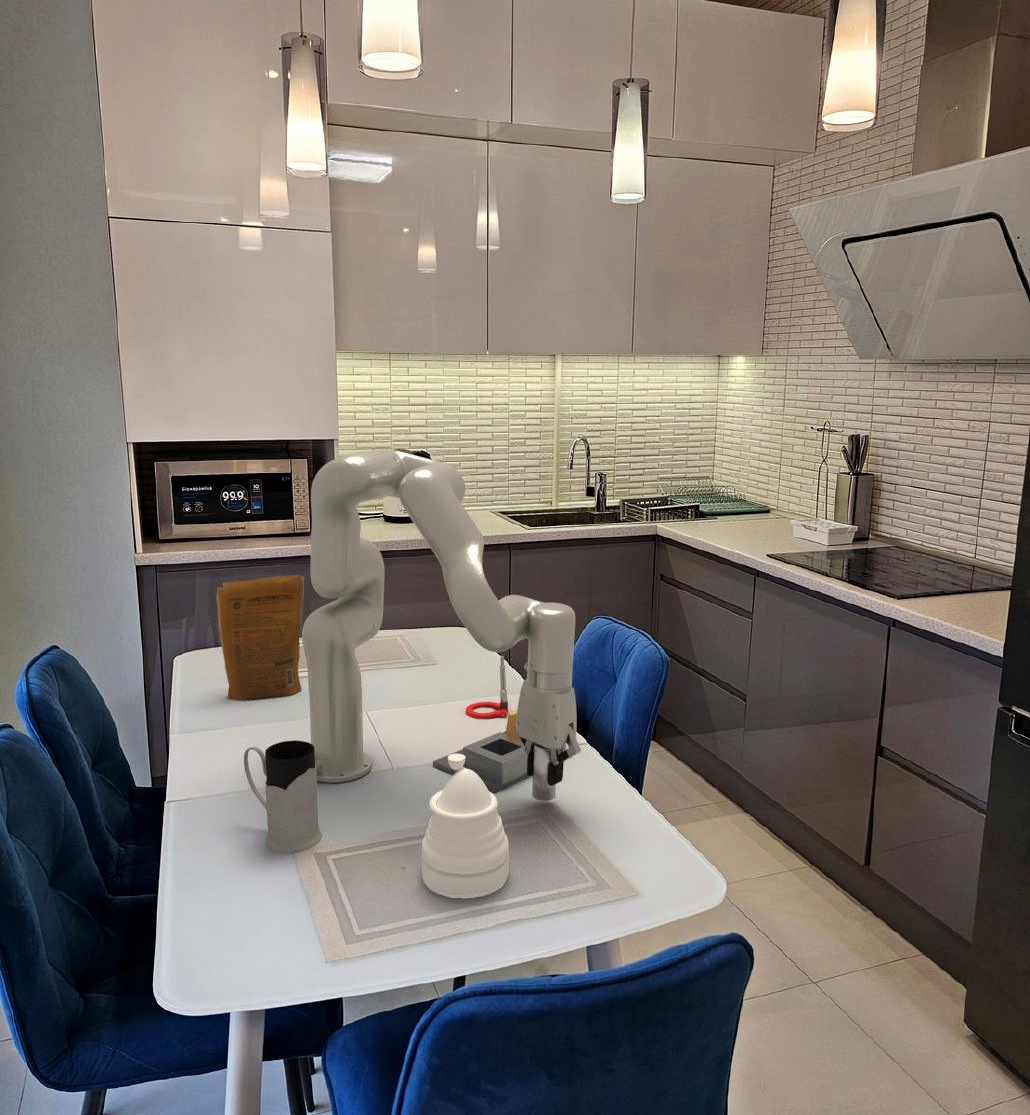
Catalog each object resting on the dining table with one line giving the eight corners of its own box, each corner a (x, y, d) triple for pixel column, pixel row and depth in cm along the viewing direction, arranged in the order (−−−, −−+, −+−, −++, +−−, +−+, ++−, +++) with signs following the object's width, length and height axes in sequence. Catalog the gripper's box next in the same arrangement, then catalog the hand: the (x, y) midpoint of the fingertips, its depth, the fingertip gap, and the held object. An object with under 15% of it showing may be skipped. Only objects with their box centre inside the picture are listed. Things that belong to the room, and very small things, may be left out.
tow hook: (463, 720, 194) (506, 720, 194) (461, 663, 192) (504, 662, 191) (467, 706, 202) (509, 706, 202) (465, 651, 200) (506, 650, 199)
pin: (544, 803, 153) (547, 742, 150) (527, 795, 155) (530, 735, 153) (559, 795, 156) (563, 736, 153) (542, 787, 158) (545, 729, 156)
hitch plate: (494, 793, 160) (494, 766, 159) (433, 766, 170) (432, 741, 169) (572, 755, 176) (573, 731, 175) (511, 733, 186) (512, 710, 185)
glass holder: (295, 858, 138) (291, 766, 135) (228, 834, 145) (223, 746, 142) (333, 833, 145) (330, 746, 142) (267, 812, 152) (263, 728, 149)
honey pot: (404, 873, 134) (402, 760, 130) (469, 843, 143) (469, 736, 139) (461, 910, 125) (461, 790, 122) (526, 875, 134) (528, 762, 130)
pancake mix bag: (310, 696, 206) (305, 576, 200) (222, 706, 200) (215, 582, 194) (306, 687, 212) (302, 570, 206) (221, 695, 206) (214, 575, 200)
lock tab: (505, 750, 176) (510, 716, 173) (501, 747, 176) (507, 713, 174) (531, 738, 181) (536, 705, 179) (527, 736, 182) (533, 703, 179)
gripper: (497, 669, 154) (494, 769, 158) (574, 696, 143) (568, 802, 147) (527, 660, 159) (522, 756, 163) (603, 685, 148) (596, 788, 152)
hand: (544, 777), depth 155 cm, fingers closed on pin, 4 cm apart
